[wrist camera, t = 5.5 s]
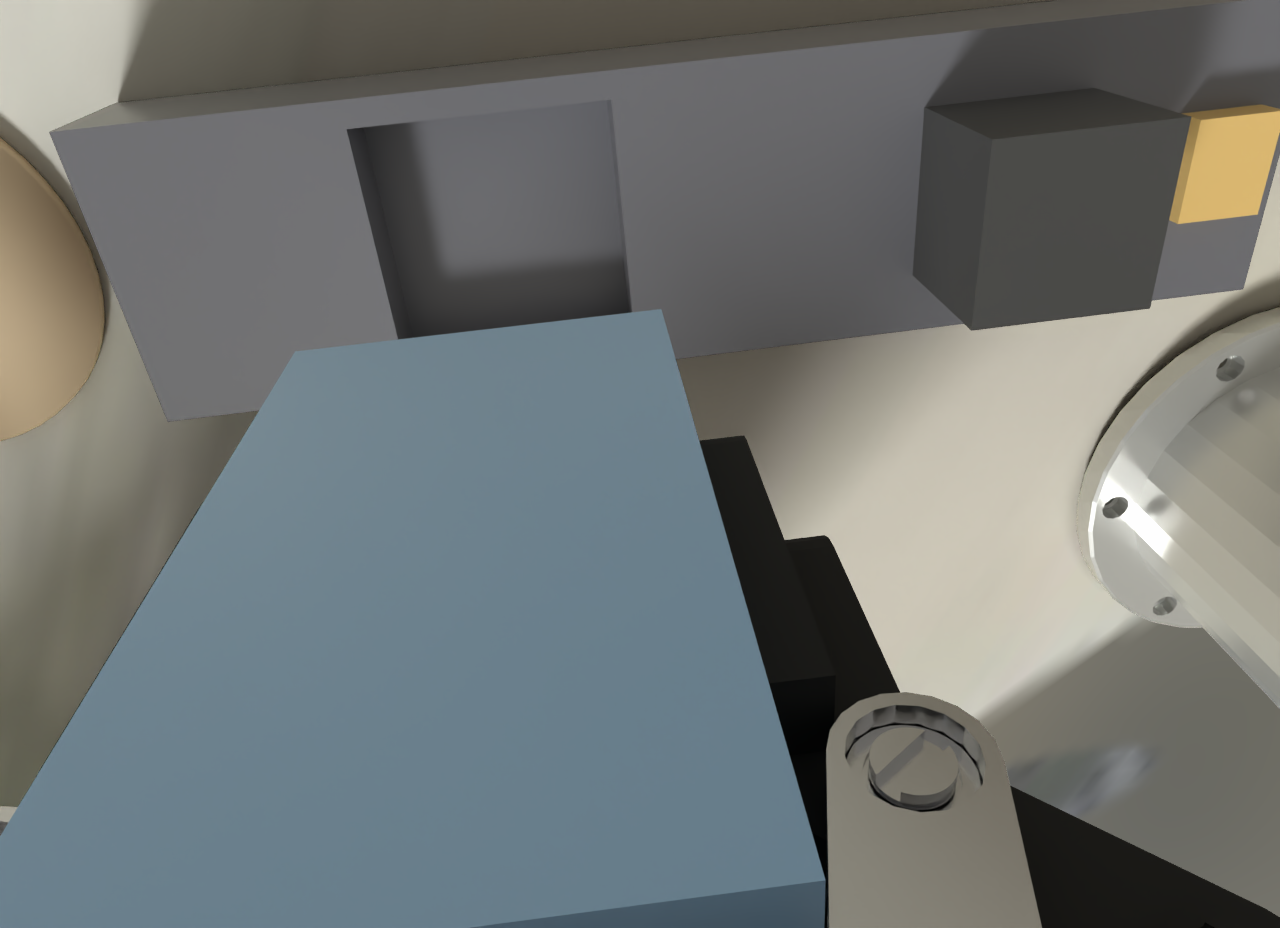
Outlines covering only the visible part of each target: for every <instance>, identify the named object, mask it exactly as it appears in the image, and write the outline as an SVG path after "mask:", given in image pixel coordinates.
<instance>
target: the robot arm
mask: <svg viewBox="0 0 1280 928" xmlns="http://www.w3.org/2000/svg"><path fill="white" fill-rule="evenodd" d="M699 442H700V445H701V449H702V452H703V456H704V459H705V463H706V466H707V470H708V473H709V477H710V480H711V484H712V487H713V491H714V494H715V498H716V501H717V505H718V508H719V512H720V515H721V518H722V522H723V525H724V529H725V532H726V536H727V539H728V543H729V546H730V550H731V553H732V557H733V560H734V564H735V567H736V571H737V574H738V578H739V581H740V585H741V588H742V592H743V595H744V598H745V602H746V605H747V609H748V612H749V616H750V619H751V623H752V626H753V630H754V633H755V637H756V640H757V644H758V647H759V651H760V654H761V658H762V661H763V665H764V668H765V671H766V675H767V678H768V682H769V685H770V689H771V692H772V696H773V699H774V703H775V706H776V710H777V713H778V717H779V720H780V724H781V727H782V731H783V734H784V738H785V741H786V745H787V748H788V751H789V755H790V758H791V762H792V765H793V769H794V772H795V776H796V779H797V783H798V786H799V790H800V793H801V797H802V800H803V804H804V807H805V811H806V814H807V818H808V821H809V825H810V828H811V831H812V835H813V838H814V842H815V845H816V849H817V852H818V856H819V859H820V863H821V866H822V870H823V873H824V877H825V880H826V882H825V923H824V928H1280V917H1278V916H1276V915H1275V914H1273V913H1272V912H1270V911H1268V910H1267V909H1265V908H1263V907H1261V906H1259V905H1256V904H1254V903H1252V902H1250V901H1248V900H1246V899H1244V898H1242V897H1240V896H1238V895H1236V894H1234V893H1231V892H1229V891H1227V890H1225V889H1223V888H1221V887H1219V886H1217V885H1215V884H1213V883H1211V882H1209V881H1207V880H1205V879H1202V878H1200V877H1198V876H1196V875H1194V874H1192V873H1190V872H1188V871H1186V870H1184V869H1182V868H1180V867H1178V866H1176V865H1174V864H1171V863H1169V862H1167V861H1165V860H1163V859H1161V858H1159V857H1157V856H1155V855H1153V854H1151V853H1148V852H1147V851H1144V850H1142V849H1140V848H1138V847H1136V846H1134V845H1132V844H1130V843H1128V842H1126V841H1124V840H1122V839H1120V838H1118V837H1115V836H1113V835H1111V834H1109V833H1107V832H1105V831H1103V830H1101V829H1099V828H1097V827H1095V826H1093V825H1091V824H1089V823H1087V822H1084V821H1082V820H1080V819H1078V818H1076V817H1074V816H1072V815H1070V814H1068V813H1066V812H1064V811H1062V810H1060V809H1058V808H1055V807H1053V806H1051V805H1049V804H1047V803H1045V802H1043V801H1041V800H1039V799H1037V798H1035V797H1033V796H1031V795H1029V794H1026V793H1024V792H1022V791H1020V790H1018V789H1016V788H1014V787H1012V786H1010V783H1009V779H1008V774H1007V770H1006V765H1005V761H1004V758H1003V756H1002V754H1001V751H1000V749H999V747H998V745H997V742H996V740H995V739H994V737H993V736H992V735H991V734H990V733H989V732H988V731H987V729H986V728H985V727H984V726H983V725H982V724H981V723H980V721H978V720H977V719H975V718H974V717H973V716H971V715H970V714H968V713H967V712H965V711H964V710H962V709H961V708H959V707H958V706H956V705H953V704H950V703H948V702H945V701H943V700H940V699H938V698H935V697H932V696H926V695H920V694H914V693H908V692H903V693H900V691H899V689H898V687H897V685H896V682H895V680H894V678H893V676H892V674H891V671H890V669H889V667H888V665H887V663H886V660H885V658H884V656H883V654H882V652H881V649H880V647H879V645H878V643H877V641H876V639H875V636H874V634H873V632H872V630H871V628H870V625H869V623H868V621H867V619H866V617H865V614H864V612H863V610H862V608H861V606H860V603H859V601H858V599H857V597H856V595H855V592H854V590H853V588H852V586H851V584H850V581H849V579H848V577H847V575H846V573H845V570H844V568H843V566H842V564H841V562H840V559H839V557H838V555H837V553H836V551H835V548H834V546H833V544H832V543H831V541H830V539H829V538H828V537H826V536H825V535H823V536H815V537H807V538H799V539H791V540H784V538H783V535H782V532H781V530H780V527H779V525H778V522H777V519H776V517H775V514H774V511H773V509H772V506H771V503H770V501H769V498H768V496H767V493H766V490H765V488H764V485H763V482H762V480H761V477H760V475H759V472H758V469H757V467H756V464H755V461H754V459H753V456H752V453H751V451H750V448H749V446H748V443H747V440H746V438H745V436H735V437H727V438H719V439H710V440H702V441H699ZM202 504H203V503H202ZM202 504H201V505H202ZM200 507H201V506H200ZM200 507H199V509H200ZM199 509H198V510H199ZM198 510H197V512H198ZM197 512H196V514H197ZM196 514H195V515H196ZM195 515H194V517H195ZM194 517H193V518H194ZM192 520H193V519H192ZM192 520H191V522H192ZM191 522H190V523H191ZM189 525H190V524H189ZM189 525H188V527H189ZM188 527H187V528H188ZM186 530H187V529H186ZM186 530H185V532H186ZM185 532H184V533H185ZM183 535H184V534H183ZM183 535H182V537H183ZM1077 535H1078V539H1079V544H1080V548H1081V553H1082V556H1083V558H1084V559H1085V561H1086V563H1087V565H1088V567H1089V569H1090V570H1091V572H1092V574H1093V576H1094V577H1095V578H1096V579H1097V580H1098V581H1099V583H1100V584H1101V585H1102V586H1103V587H1104V588H1105V589H1106V591H1107V592H1108V593H1109V594H1110V595H1111V597H1112V598H1113V599H1114V600H1116V601H1117V602H1118V603H1120V604H1121V605H1122V606H1124V607H1125V608H1126V609H1128V610H1129V611H1130V612H1132V613H1134V614H1136V615H1138V616H1140V617H1142V618H1144V619H1147V620H1149V621H1152V622H1155V623H1160V624H1165V625H1171V626H1176V627H1181V628H1204V629H1205V630H1206V631H1207V632H1208V633H1209V634H1210V635H1211V636H1212V637H1213V638H1214V640H1215V641H1216V642H1217V643H1218V644H1219V645H1220V646H1221V647H1222V648H1223V649H1224V650H1225V651H1226V652H1227V653H1228V654H1229V655H1230V656H1231V658H1233V660H1234V661H1235V662H1236V663H1237V664H1238V665H1239V666H1240V667H1241V668H1242V669H1243V670H1244V671H1245V672H1246V673H1247V674H1248V675H1249V676H1250V678H1251V679H1252V680H1253V681H1254V682H1255V683H1256V684H1257V685H1258V686H1259V687H1260V688H1261V689H1262V690H1263V691H1264V692H1265V693H1266V694H1267V696H1268V697H1269V698H1270V699H1271V700H1272V701H1273V702H1274V703H1275V704H1276V705H1277V706H1278V707H1279V708H1280V307H1278V308H1275V309H1272V310H1268V311H1265V312H1262V313H1258V314H1255V315H1252V316H1249V317H1247V318H1245V319H1243V320H1241V321H1239V322H1237V323H1234V324H1232V325H1230V326H1228V327H1226V328H1224V329H1221V330H1219V331H1217V332H1215V333H1213V334H1212V335H1210V336H1208V337H1207V338H1205V339H1204V340H1202V341H1201V342H1199V343H1197V344H1196V345H1194V346H1193V347H1191V348H1190V349H1188V350H1186V351H1185V352H1183V353H1182V354H1180V355H1179V356H1177V357H1176V358H1175V359H1174V360H1173V361H1171V362H1170V363H1169V364H1168V365H1167V366H1165V367H1164V368H1163V369H1162V370H1161V371H1160V372H1158V373H1157V374H1156V375H1155V376H1154V377H1152V378H1151V379H1150V380H1149V381H1148V382H1146V384H1145V385H1144V386H1143V387H1142V388H1141V389H1140V390H1139V391H1138V392H1137V393H1136V395H1135V396H1134V397H1133V398H1132V399H1131V400H1130V401H1129V402H1128V403H1127V405H1126V406H1125V407H1124V408H1123V409H1122V410H1121V411H1120V412H1119V414H1118V415H1117V417H1116V418H1115V420H1114V421H1113V423H1112V424H1111V426H1110V427H1109V429H1108V430H1107V432H1106V433H1105V435H1104V436H1103V438H1102V439H1101V441H1100V442H1099V444H1098V446H1097V448H1096V450H1095V452H1094V455H1093V457H1092V459H1091V461H1090V463H1089V465H1088V468H1087V470H1086V472H1085V475H1084V479H1083V483H1082V487H1081V491H1080V495H1079V499H1078V503H1077ZM182 537H181V538H182ZM181 538H180V540H181ZM180 540H179V541H180ZM178 543H179V542H178ZM178 543H177V545H178ZM177 545H176V546H177ZM175 548H176V547H175ZM175 548H174V550H175ZM174 550H173V551H174ZM172 553H173V552H172ZM172 553H171V555H172ZM171 555H170V556H171ZM169 558H170V557H169ZM169 558H168V560H169ZM168 560H167V561H168ZM166 563H167V562H166ZM166 563H165V564H166ZM164 566H165V565H164ZM164 566H163V568H164ZM163 568H162V569H163ZM161 571H162V570H161ZM161 571H160V573H161ZM160 573H159V574H160ZM158 576H159V575H158ZM158 576H157V578H158ZM157 578H156V579H157ZM155 581H156V580H155ZM155 581H154V583H155ZM154 583H153V584H154ZM152 586H153V585H152ZM152 586H151V587H152ZM150 589H151V588H150ZM149 591H150V590H149ZM149 591H148V592H149ZM147 594H148V593H147ZM147 594H146V596H147ZM146 596H145V597H146ZM144 599H145V598H144ZM144 599H143V601H144ZM143 601H142V602H143ZM141 604H142V603H141ZM141 604H140V606H141ZM140 606H139V607H140ZM138 609H139V608H138ZM138 609H137V610H138ZM136 612H137V611H136ZM135 614H136V613H135ZM135 614H134V615H135ZM133 617H134V616H133ZM132 619H133V618H132ZM132 619H131V620H132ZM130 622H131V621H130ZM130 622H129V624H130ZM129 624H128V625H129ZM127 627H128V626H127ZM127 627H126V629H127ZM126 629H125V630H126ZM124 632H125V631H124ZM124 632H123V633H124ZM122 635H123V634H122ZM121 637H122V636H121ZM121 637H120V638H121ZM119 640H120V639H119ZM118 642H119V641H118ZM118 642H117V643H118ZM116 645H117V644H116ZM115 647H116V646H115ZM115 647H114V648H115ZM113 650H114V649H113ZM113 650H112V652H113ZM112 652H111V653H112ZM110 655H111V654H110ZM110 655H109V656H110ZM108 658H109V657H108ZM107 660H108V659H107ZM107 660H106V661H107ZM105 663H106V662H105ZM104 665H105V664H104ZM104 665H103V666H104ZM102 668H103V667H102ZM101 670H102V669H101ZM101 670H100V671H101ZM99 673H100V672H99ZM98 675H99V674H98ZM98 675H97V676H98ZM96 678H97V677H96ZM96 678H95V679H96ZM94 681H95V680H94ZM93 683H94V682H93ZM93 683H92V684H93ZM91 686H92V685H91ZM90 688H91V687H90ZM90 688H89V689H90ZM88 691H89V690H88ZM87 693H88V692H87ZM87 693H86V694H87ZM85 696H86V695H85ZM84 698H85V697H84ZM84 698H83V699H84ZM82 701H83V700H82ZM80 704H81V703H80ZM79 706H80V705H79ZM79 706H78V707H79ZM77 709H78V708H77ZM76 711H77V710H76ZM76 711H75V712H76ZM74 714H75V713H74ZM73 716H74V715H73ZM73 716H72V717H73ZM71 719H72V718H71ZM70 721H71V720H70ZM70 721H69V722H70ZM68 724H69V723H68ZM66 727H67V726H66ZM65 729H66V728H65ZM63 732H64V731H63ZM62 734H63V733H62ZM62 734H61V735H62ZM60 737H61V736H60ZM59 739H60V738H59ZM59 739H58V740H59ZM57 742H58V741H57ZM56 744H57V743H56ZM56 744H55V745H56ZM54 747H55V746H54ZM52 750H53V749H52ZM51 752H52V751H51ZM49 755H50V754H49ZM48 757H49V756H48ZM48 757H47V758H48ZM46 760H47V759H46ZM45 762H46V761H45ZM45 762H44V763H45ZM43 765H44V764H43ZM42 767H43V766H42ZM42 767H41V768H42ZM40 770H41V769H40ZM38 773H39V772H38ZM37 775H38V774H37ZM17 808H18V807H9V806H0V836H1V834H2V832H3V831H4V829H5V827H6V826H7V824H8V822H9V821H10V819H11V818H12V816H13V814H14V813H15V811H16V809H17Z"/></svg>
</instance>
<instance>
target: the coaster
mask: <svg viewBox="0 0 1280 928" xmlns="http://www.w3.org/2000/svg"><path fill="white" fill-rule="evenodd" d="M104 322H105V318H104V298H103V293H102V288H101V283H100V278H99V274H98V271H97V268H96V265H95V262H94V259H93V256H92V253H91V251H90V249H89V247H88V245H87V242H86V240H85V238H84V236H83V234H82V232H81V230H80V228H79V226H78V225H77V223H76V222H75V220H74V218H73V217H72V215H71V214H70V212H69V210H68V209H67V207H66V206H65V204H64V203H63V201H62V200H61V199H60V198H59V196H58V195H57V194H56V193H55V191H54V190H53V189H52V188H51V186H50V185H49V184H48V183H47V181H46V180H45V179H44V178H43V177H42V176H41V175H40V174H39V173H38V172H37V171H36V170H35V169H34V168H33V167H32V165H31V164H30V163H29V162H28V161H27V160H26V159H25V158H24V157H23V156H22V155H20V154H19V153H18V152H17V151H16V150H14V149H13V148H12V147H11V146H10V145H9V144H7V143H6V142H5V141H4V140H3V139H1V138H0V441H3V440H6V439H9V438H12V437H15V436H18V435H21V434H23V433H26V432H28V431H30V430H32V429H34V428H36V427H38V426H40V425H42V424H43V423H44V422H46V421H47V420H49V419H50V418H52V417H53V416H55V415H56V414H57V413H58V412H59V411H60V410H61V409H62V408H63V407H64V406H66V405H67V404H68V403H69V402H70V401H71V400H72V399H73V398H74V397H75V396H76V394H77V393H78V392H79V391H80V389H81V388H82V386H83V385H84V384H85V382H86V381H87V380H88V378H89V376H90V374H91V372H92V370H93V368H94V366H95V364H96V362H97V359H98V355H99V351H100V348H101V344H102V340H103V331H104Z"/></svg>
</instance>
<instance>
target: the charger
mask: <svg viewBox="0 0 1280 928" xmlns="http://www.w3.org/2000/svg"><path fill="white" fill-rule="evenodd" d="M825 882H826V880H825V877H824V873H823V870H822V866H821V863H820V859H819V856H818V852H817V849H816V845H815V842H814V838H813V835H812V831H811V828H810V825H809V821H808V818H807V814H806V811H805V807H804V804H803V800H802V797H801V793H800V790H799V786H798V783H797V779H796V776H795V772H794V769H793V765H792V762H791V758H790V755H789V751H788V748H787V745H786V741H785V738H784V734H783V731H782V727H781V724H780V720H779V717H778V713H777V710H776V706H775V703H774V699H773V696H772V692H771V689H770V685H769V682H768V678H767V675H766V671H765V668H764V665H763V661H762V658H761V654H760V651H759V647H758V644H757V640H756V637H755V633H754V630H753V626H752V623H751V619H750V616H749V612H748V609H747V605H746V602H745V598H744V595H743V592H742V588H741V585H740V581H739V578H738V574H737V571H736V567H735V564H734V560H733V557H732V553H731V550H730V546H729V543H728V539H727V536H726V532H725V529H724V525H723V522H722V518H721V515H720V512H719V508H718V505H717V501H716V498H715V494H714V491H713V487H712V484H711V480H710V477H709V473H708V470H707V466H706V463H705V459H704V456H703V452H702V449H701V445H700V442H699V438H698V435H697V432H696V428H695V425H694V421H693V418H692V414H691V411H690V407H689V404H688V400H687V397H686V393H685V390H684V386H683V383H682V379H681V376H680V372H679V369H678V365H677V362H676V359H675V355H674V352H673V348H672V345H671V341H670V338H669V334H668V331H667V327H666V324H665V320H664V317H663V313H662V310H661V309H657V310H649V311H640V312H631V313H623V314H614V315H606V316H597V317H588V318H580V319H571V320H562V321H554V322H545V323H537V324H528V325H519V326H511V327H502V328H493V329H485V330H476V331H468V332H459V333H450V334H442V335H433V336H424V337H416V338H407V339H399V340H390V341H381V342H373V343H364V344H355V345H347V346H338V347H330V348H321V349H312V350H304V351H295V353H294V354H293V356H292V357H291V359H290V361H289V362H288V364H287V366H286V367H285V369H284V371H283V372H282V374H281V376H280V377H279V379H278V380H277V382H276V384H275V385H274V387H273V389H272V390H271V392H270V394H269V395H268V397H267V399H266V400H265V402H264V403H263V405H262V407H261V408H260V410H259V412H258V413H257V415H256V417H255V418H254V420H253V422H252V423H251V425H250V426H249V428H248V430H247V431H246V433H245V435H244V436H243V438H242V440H241V441H240V443H239V445H238V446H237V448H236V449H235V451H234V453H233V454H232V456H231V458H230V459H229V461H228V463H227V464H226V466H225V468H224V469H223V471H222V472H221V474H220V476H219V477H218V479H217V481H216V482H215V484H214V486H213V487H212V489H211V491H210V492H209V494H208V495H207V497H206V499H205V500H204V502H203V504H202V505H201V507H200V509H199V510H198V512H197V514H196V515H195V517H194V518H193V520H192V522H191V523H190V525H189V527H188V528H187V530H186V532H185V533H184V535H183V537H182V538H181V540H180V541H179V543H178V545H177V546H176V548H175V550H174V551H173V553H172V555H171V556H170V558H169V560H168V561H167V563H166V564H165V566H164V568H163V569H162V571H161V573H160V574H159V576H158V578H157V579H156V581H155V583H154V584H153V586H152V587H151V589H150V591H149V592H148V594H147V596H146V597H145V599H144V601H143V602H142V604H141V606H140V607H139V609H138V610H137V612H136V614H135V615H134V617H133V619H132V620H131V622H130V624H129V625H128V627H127V629H126V630H125V632H124V633H123V635H122V637H121V638H120V640H119V642H118V643H117V645H116V647H115V648H114V650H113V652H112V653H111V655H110V656H109V658H108V660H107V661H106V663H105V665H104V666H103V668H102V670H101V671H100V673H99V675H98V676H97V678H96V679H95V681H94V683H93V684H92V686H91V688H90V689H89V691H88V693H87V694H86V696H85V698H84V699H83V701H82V702H81V704H80V706H79V707H78V709H77V711H76V712H75V714H74V716H73V717H72V719H71V721H70V722H69V724H68V725H67V727H66V729H65V730H64V732H63V734H62V735H61V737H60V739H59V740H58V742H57V744H56V745H55V747H54V748H53V750H52V752H51V753H50V755H49V757H48V758H47V760H46V762H45V763H44V765H43V767H42V768H41V770H40V771H39V773H38V775H37V776H36V778H35V780H34V781H33V783H32V785H31V786H30V788H29V790H28V791H27V793H26V794H25V796H24V798H23V799H22V801H21V803H20V804H19V806H18V808H17V809H16V811H15V813H14V814H13V816H12V818H11V819H10V821H9V822H8V824H7V826H6V827H5V829H4V831H3V832H2V834H1V836H0V928H824V923H825Z"/></svg>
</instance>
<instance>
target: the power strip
mask: <svg viewBox="0 0 1280 928" xmlns="http://www.w3.org/2000/svg"><path fill="white" fill-rule="evenodd" d="M49 133H50V135H51V138H52V140H53V142H54V145H55V147H56V150H57V152H58V155H59V157H60V160H61V162H62V164H63V167H64V169H65V172H66V174H67V177H68V179H69V182H70V184H71V186H72V189H73V191H74V194H75V196H76V199H77V201H78V204H79V206H80V208H81V211H82V213H83V216H84V218H85V221H86V223H87V226H88V228H89V230H90V233H91V235H92V238H93V240H94V243H95V245H96V248H97V250H98V252H99V255H100V257H101V260H102V262H103V265H104V267H105V270H106V272H107V274H108V277H109V279H110V282H111V284H112V287H113V289H114V292H115V294H116V296H117V299H118V301H119V304H120V306H121V309H122V311H123V314H124V316H125V318H126V321H127V323H128V326H129V328H130V331H131V333H132V336H133V338H134V340H135V343H136V345H137V348H138V350H139V353H140V355H141V358H142V360H143V362H144V365H145V367H146V370H147V372H148V375H149V377H150V380H151V382H152V384H153V387H154V389H155V392H156V394H157V397H158V399H159V402H160V404H161V406H162V409H163V411H164V414H165V416H166V419H167V421H168V422H170V421H178V420H187V419H195V418H203V417H211V416H219V415H227V414H235V413H243V412H251V411H259V410H260V408H261V407H262V405H263V403H264V402H265V400H266V399H267V397H268V395H269V394H270V392H271V390H272V389H273V387H274V385H275V384H276V382H277V380H278V379H279V377H280V376H281V374H282V372H283V371H284V369H285V367H286V366H287V364H288V362H289V361H290V359H291V357H292V356H293V354H294V353H295V351H304V350H312V349H321V348H330V347H338V346H347V345H355V344H364V343H373V342H381V341H390V340H399V339H407V338H416V337H424V336H433V335H442V334H450V333H459V332H468V331H476V330H485V329H493V328H502V327H511V326H519V325H528V324H537V323H545V322H554V321H562V320H571V319H580V318H588V317H597V316H606V315H614V314H623V313H631V312H640V311H649V310H657V309H661V310H662V313H663V317H664V320H665V324H666V327H667V331H668V334H669V338H670V341H671V345H672V348H673V352H674V355H675V359H682V358H690V357H698V356H706V355H714V354H722V353H730V352H738V351H746V350H755V349H763V348H771V347H779V346H787V345H795V344H803V343H811V342H819V341H828V340H836V339H844V338H852V337H860V336H868V335H876V334H884V333H893V332H901V331H909V330H917V329H925V328H933V327H941V326H949V325H957V324H965V325H966V326H967V327H968V328H969V329H970V330H979V329H987V328H995V327H1003V326H1011V325H1020V324H1028V323H1036V322H1044V321H1052V320H1060V319H1068V318H1076V317H1084V316H1092V315H1100V314H1109V313H1117V312H1125V311H1133V310H1141V309H1149V308H1150V306H1151V301H1152V300H1160V299H1168V298H1177V297H1185V296H1193V295H1201V294H1209V293H1217V292H1225V291H1233V290H1241V289H1243V288H1244V284H1245V280H1246V277H1247V273H1248V269H1249V266H1250V262H1251V258H1252V255H1253V251H1254V247H1255V243H1256V240H1257V236H1258V232H1259V229H1260V225H1261V221H1262V218H1263V214H1264V210H1265V206H1266V203H1267V199H1268V195H1269V192H1270V188H1271V184H1272V181H1273V177H1274V173H1275V169H1276V166H1277V162H1278V158H1279V155H1280V0H1053V1H1044V2H1035V3H1026V4H1017V5H1007V6H998V7H989V8H980V9H971V10H962V11H952V12H943V13H934V14H925V15H916V16H907V17H898V18H888V19H879V20H870V21H861V22H852V23H843V24H833V25H824V26H815V27H806V28H797V29H788V30H778V31H769V32H760V33H751V34H742V35H733V36H723V37H714V38H705V39H696V40H687V41H678V42H669V43H659V44H650V45H641V46H632V47H623V48H614V49H604V50H595V51H586V52H577V53H568V54H559V55H549V56H540V57H531V58H522V59H513V60H504V61H494V62H485V63H476V64H467V65H458V66H449V67H440V68H430V69H421V70H412V71H403V72H394V73H385V74H375V75H366V76H357V77H348V78H339V79H330V80H320V81H311V82H302V83H293V84H284V85H275V86H266V87H256V88H247V89H238V90H229V91H220V92H211V93H201V94H192V95H183V96H174V97H165V98H156V99H146V100H137V101H128V102H119V103H115V104H112V105H110V106H108V107H105V108H103V109H101V110H99V111H96V112H94V113H92V114H89V115H87V116H85V117H83V118H80V119H78V120H76V121H73V122H71V123H69V124H66V125H64V126H62V127H60V128H57V129H55V130H53V131H50V132H49Z"/></svg>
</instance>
